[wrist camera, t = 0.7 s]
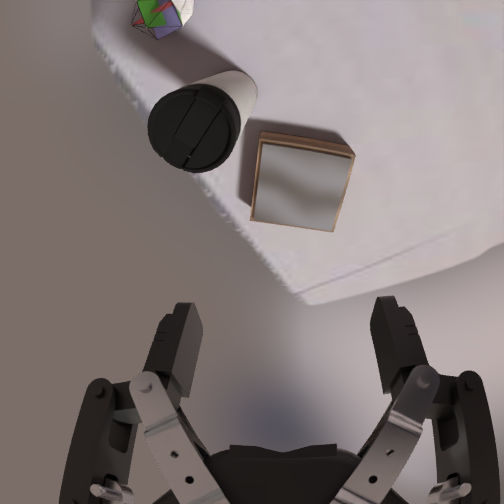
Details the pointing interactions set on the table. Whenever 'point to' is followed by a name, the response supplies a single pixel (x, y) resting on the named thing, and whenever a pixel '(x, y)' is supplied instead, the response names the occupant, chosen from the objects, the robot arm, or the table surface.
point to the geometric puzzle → (164, 15)
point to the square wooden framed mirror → (300, 181)
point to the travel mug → (202, 121)
